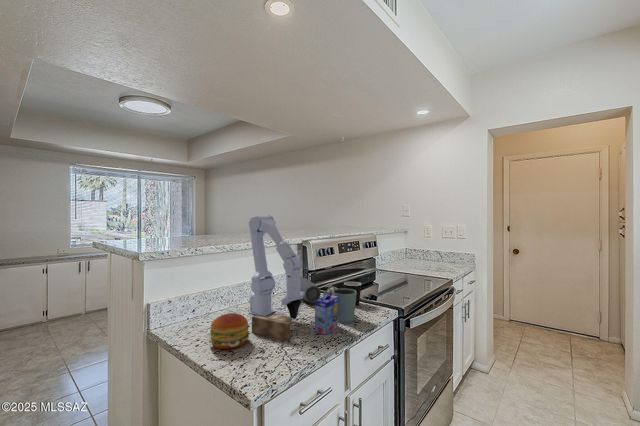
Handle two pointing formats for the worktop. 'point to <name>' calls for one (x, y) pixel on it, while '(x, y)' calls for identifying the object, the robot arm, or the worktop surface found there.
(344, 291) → the grey green cup
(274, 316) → the block
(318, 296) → the bluetooth speaker
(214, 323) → the burger
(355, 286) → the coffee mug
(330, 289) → the food container
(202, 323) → the worktop surface
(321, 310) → the ink cartridge box
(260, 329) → the wall
